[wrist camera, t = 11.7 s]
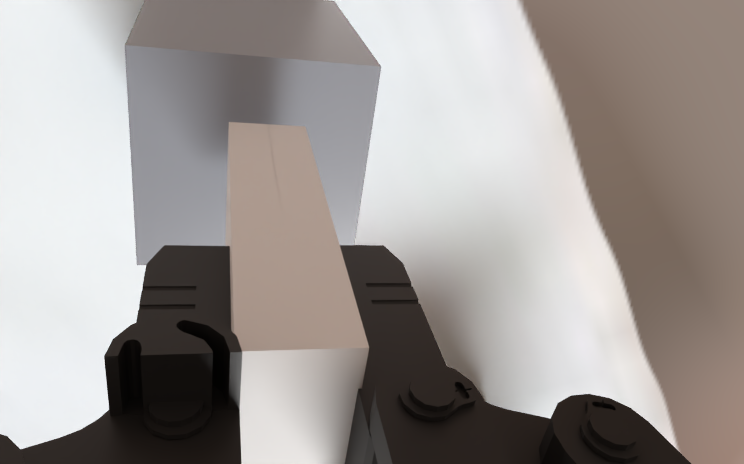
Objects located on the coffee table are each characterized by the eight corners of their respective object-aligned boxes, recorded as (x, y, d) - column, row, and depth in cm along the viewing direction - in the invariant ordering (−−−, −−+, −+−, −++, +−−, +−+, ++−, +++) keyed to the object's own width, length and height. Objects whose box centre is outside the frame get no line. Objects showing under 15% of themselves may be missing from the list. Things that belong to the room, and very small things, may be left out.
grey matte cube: (153, -19, 18) (125, 45, 12) (334, 1, 19) (380, 66, 14) (158, 150, 20) (136, 264, 15) (317, 157, 22) (351, 265, 16)
